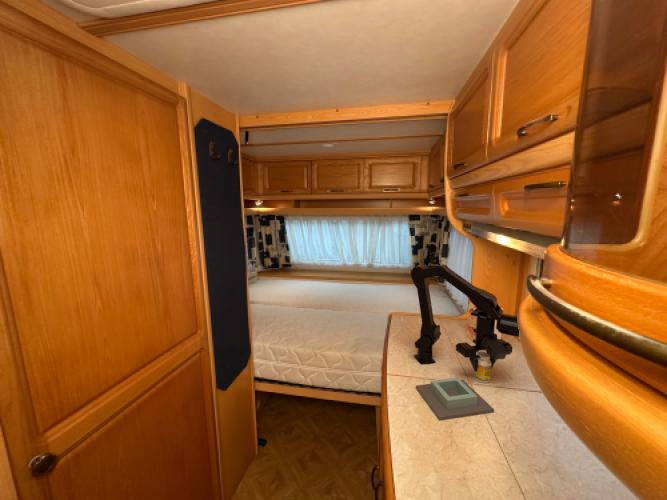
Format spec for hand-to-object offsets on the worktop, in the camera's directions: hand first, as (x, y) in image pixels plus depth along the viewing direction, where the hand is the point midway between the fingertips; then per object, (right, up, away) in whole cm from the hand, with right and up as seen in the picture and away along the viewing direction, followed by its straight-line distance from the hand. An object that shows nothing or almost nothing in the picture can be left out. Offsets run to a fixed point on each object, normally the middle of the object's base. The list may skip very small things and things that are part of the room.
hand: (482, 369), depth 98 cm
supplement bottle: (0, -4, +1) cm, 4 cm away
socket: (-15, -5, -10) cm, 19 cm away
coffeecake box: (+15, 0, +27) cm, 31 cm away
